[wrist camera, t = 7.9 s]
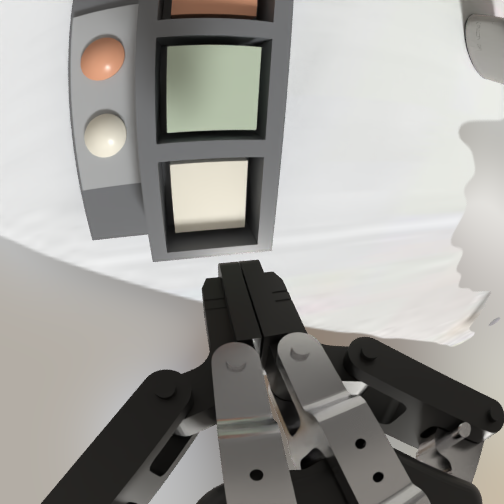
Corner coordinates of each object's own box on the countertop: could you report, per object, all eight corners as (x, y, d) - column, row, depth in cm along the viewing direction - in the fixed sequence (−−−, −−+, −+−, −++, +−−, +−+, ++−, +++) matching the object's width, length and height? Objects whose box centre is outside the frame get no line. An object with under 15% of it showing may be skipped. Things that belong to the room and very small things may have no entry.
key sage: (252, 50, 13) (261, 47, 11) (247, 124, 15) (256, 129, 14) (169, 51, 12) (167, 46, 10) (168, 126, 14) (167, 133, 13)
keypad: (280, -28, 12) (314, -56, 7) (263, 209, 24) (286, 249, 19) (88, -20, 9) (60, -46, 4) (99, 224, 21) (81, 268, 16)
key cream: (241, 152, 18) (247, 160, 16) (238, 213, 20) (244, 227, 19) (171, 156, 17) (170, 164, 15) (175, 218, 19) (175, 233, 18)
